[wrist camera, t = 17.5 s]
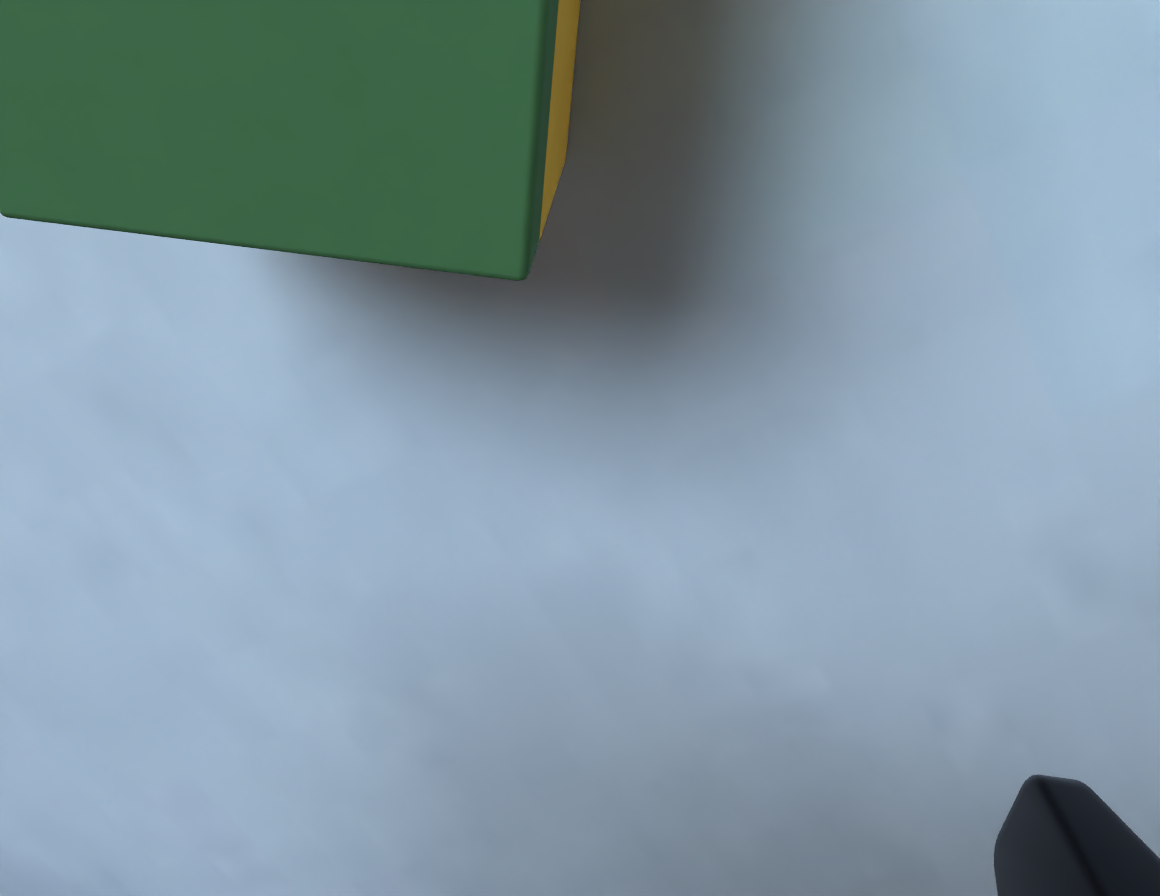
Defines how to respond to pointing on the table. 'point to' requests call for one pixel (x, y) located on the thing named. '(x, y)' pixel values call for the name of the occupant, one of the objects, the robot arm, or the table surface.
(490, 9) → the sponge
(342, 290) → the table surface
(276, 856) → the table surface
